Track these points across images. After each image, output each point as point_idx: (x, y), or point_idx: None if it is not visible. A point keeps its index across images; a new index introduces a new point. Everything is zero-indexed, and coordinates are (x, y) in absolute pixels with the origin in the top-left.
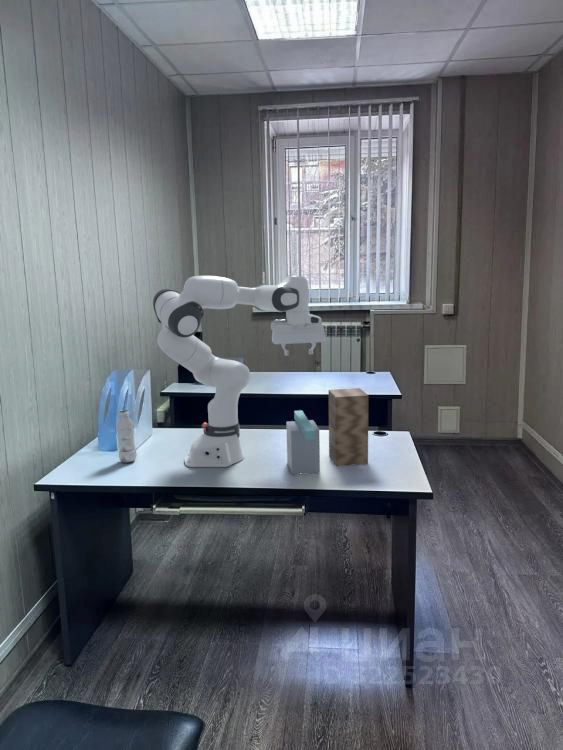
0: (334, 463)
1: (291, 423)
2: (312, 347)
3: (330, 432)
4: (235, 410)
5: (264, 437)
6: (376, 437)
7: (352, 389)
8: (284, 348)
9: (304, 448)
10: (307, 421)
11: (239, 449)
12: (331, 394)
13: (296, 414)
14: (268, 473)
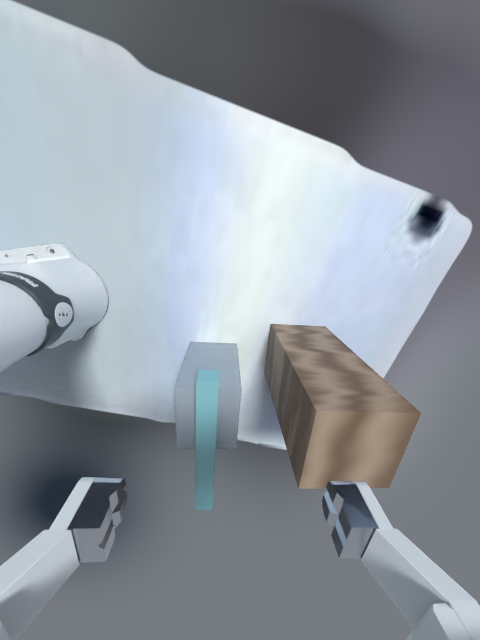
0: (266, 363)
1: (185, 403)
2: (391, 586)
3: (279, 359)
4: (9, 362)
5: (157, 161)
6: (404, 244)
7: (390, 423)
8: (29, 616)
9: None
10: (210, 463)
11: (90, 316)
12: (306, 442)
13: (196, 412)
14: (154, 377)
